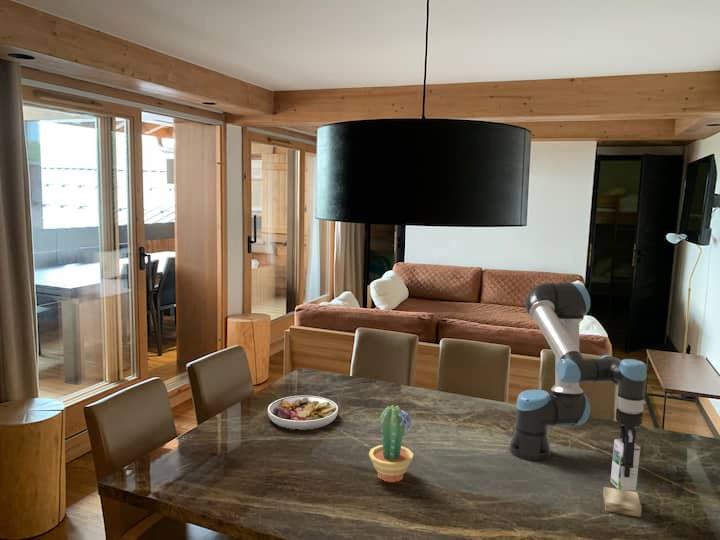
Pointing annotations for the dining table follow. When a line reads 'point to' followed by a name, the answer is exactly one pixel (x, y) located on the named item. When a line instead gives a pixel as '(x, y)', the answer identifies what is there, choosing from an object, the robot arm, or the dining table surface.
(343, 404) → the dining table surface
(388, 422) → the potted cactus
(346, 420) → the dining table surface
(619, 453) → the syrup box
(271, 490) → the dining table surface
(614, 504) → the panel
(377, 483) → the dining table surface
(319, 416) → the bowl
